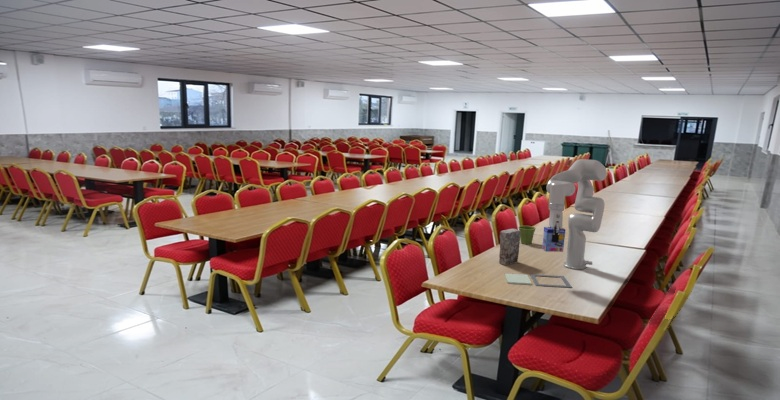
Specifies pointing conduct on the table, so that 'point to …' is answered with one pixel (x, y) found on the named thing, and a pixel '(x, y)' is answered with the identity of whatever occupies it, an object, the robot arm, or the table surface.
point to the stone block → (509, 246)
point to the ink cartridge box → (547, 240)
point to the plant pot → (526, 234)
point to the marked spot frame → (550, 285)
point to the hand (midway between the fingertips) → (553, 240)
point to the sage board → (518, 279)
